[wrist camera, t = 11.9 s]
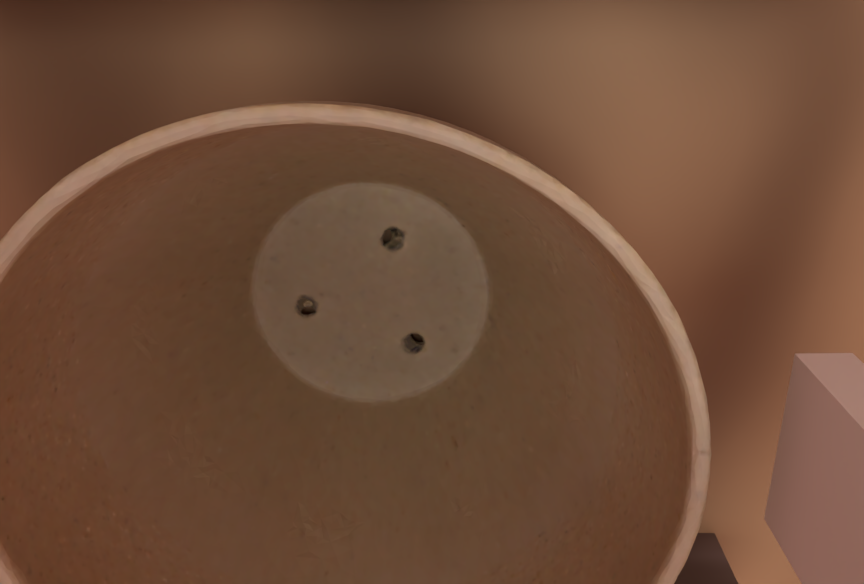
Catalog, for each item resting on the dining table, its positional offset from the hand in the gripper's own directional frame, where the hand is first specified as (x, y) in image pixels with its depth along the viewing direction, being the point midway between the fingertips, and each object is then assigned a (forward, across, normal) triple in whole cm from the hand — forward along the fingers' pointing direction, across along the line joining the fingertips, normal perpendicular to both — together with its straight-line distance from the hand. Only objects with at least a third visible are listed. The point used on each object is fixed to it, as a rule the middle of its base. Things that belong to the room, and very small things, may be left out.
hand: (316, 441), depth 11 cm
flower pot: (+7, 0, 0) cm, 7 cm away
